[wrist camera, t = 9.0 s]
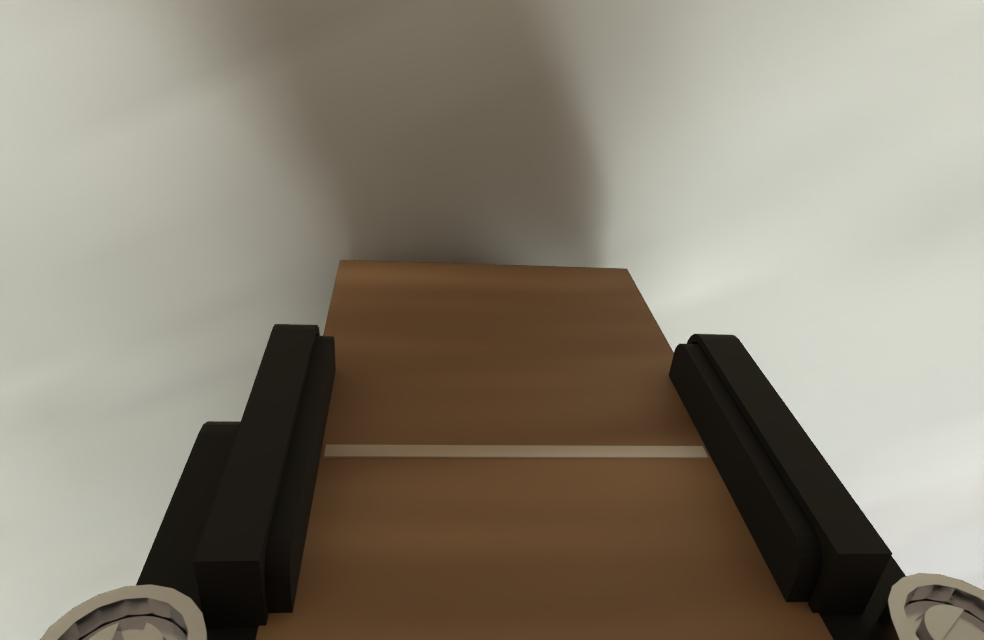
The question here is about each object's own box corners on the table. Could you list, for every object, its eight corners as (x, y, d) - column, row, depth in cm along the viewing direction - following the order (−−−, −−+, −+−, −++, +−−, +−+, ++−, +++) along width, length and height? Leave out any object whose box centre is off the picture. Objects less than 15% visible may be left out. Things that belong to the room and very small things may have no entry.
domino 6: (339, 258, 12) (158, 1075, 4) (626, 268, 13) (1035, 1000, 4) (342, 341, 13) (196, 1170, 5) (612, 346, 14) (933, 1096, 5)
